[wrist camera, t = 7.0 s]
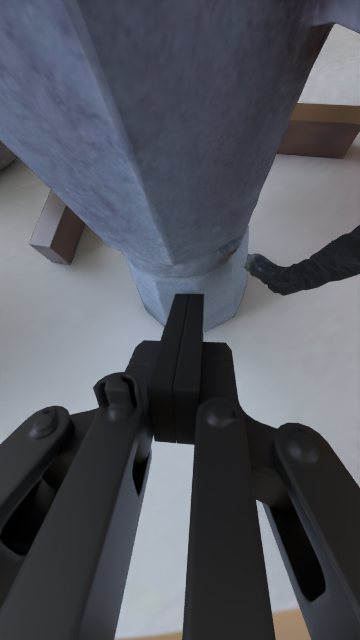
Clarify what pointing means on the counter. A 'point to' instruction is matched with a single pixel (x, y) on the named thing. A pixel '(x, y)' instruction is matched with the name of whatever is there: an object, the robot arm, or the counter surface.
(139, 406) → the robot arm
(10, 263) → the counter surface
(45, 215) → the corner guide
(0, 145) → the perforated stone tool
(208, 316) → the moka pot
